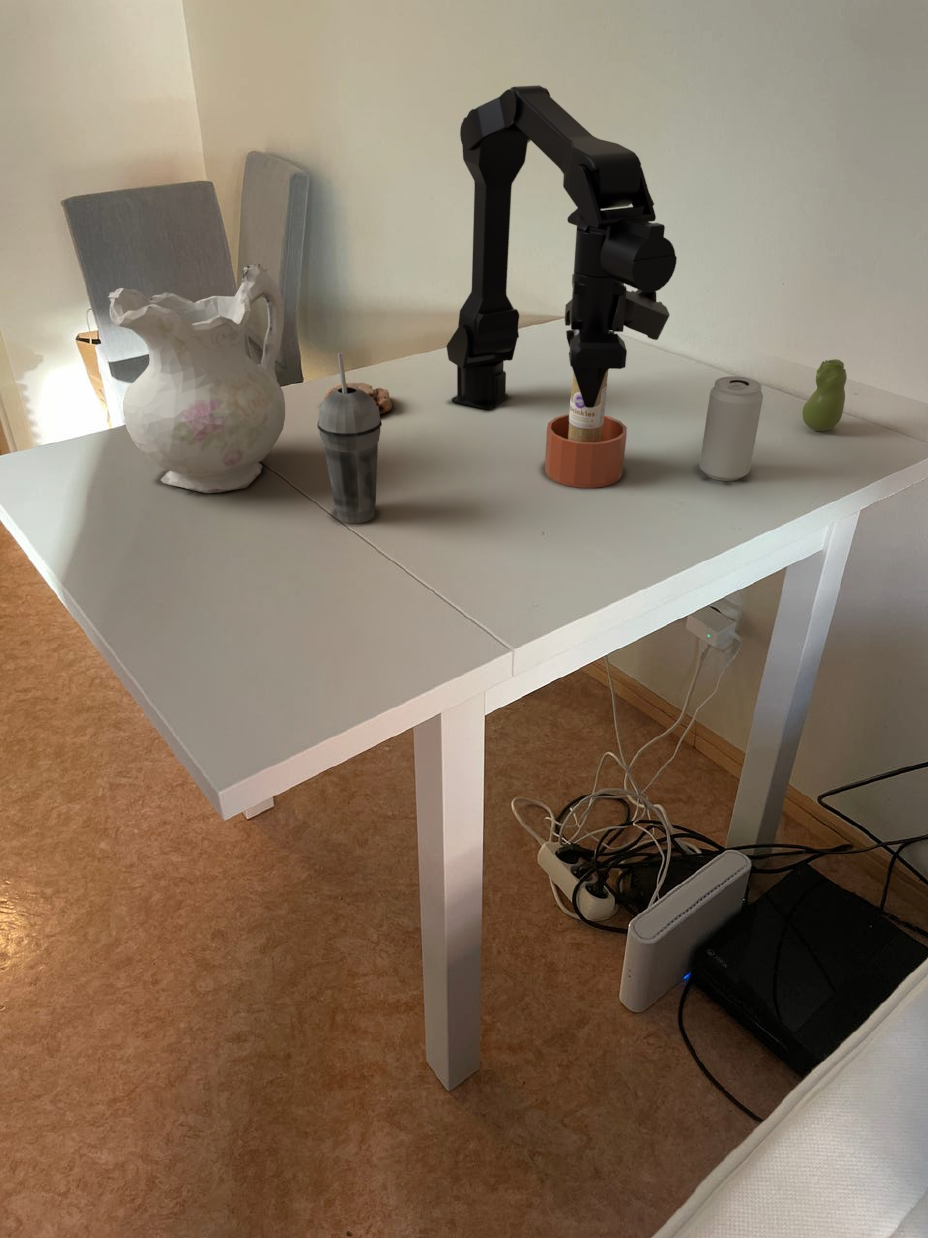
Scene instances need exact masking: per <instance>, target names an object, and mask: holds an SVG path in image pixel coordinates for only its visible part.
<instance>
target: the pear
mask: <svg viewBox="0 0 928 1238" xmlns="http://www.w3.org/2000/svg"><path fill="white" fill-rule="evenodd" d="M847 379H848V377H847V371H846V368H845V363H844V362H843V361H842V360H840V359H835V358H834V359H829V360H828V359H826V360H823V361H822V362H821V363H820V365H819V367H818V368H817V370H816V374H815V384H816V390H814V391H813V392H812V394H811V395H810V397H809V398H808V399H807V401H806V402H805V403H804V404H803V407H802V412H801V414H802V420H803V422H804V424H805V425H806V426H807V427H808V428H810V429H811V430H813V431H817V432H826V431H830V430H832V429H834V428H835V427H836V426H837V425H838V424H839V423H840V421H841V420H842V417H843V413H844V408H845V403H846V391H845V386H846V383H847Z"/></svg>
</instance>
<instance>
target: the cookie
mask: <svg viewBox="0 0 928 1238" xmlns="http://www.w3.org/2000/svg"><path fill="white" fill-rule="evenodd" d="M346 387H354V388H358V389H360V390H362V391H364V392H366V393H367V394H368V395H369V396H370V397H371V398H372V399H373V400H374V402H375V403H376V405H377V408H378V411H379V415H382V414H387V412H390V411H391V410H392V408H393V403H392V399H391V397H390V392H389V390H388V389H384V388H382V387H376V388H375V389H374V388H373V386H372V385H371V384H368V383H364V382H346ZM339 388H342V384H339V385H337V386H334V387H333V388H330V389H329V390H328V391H326V393H325V395H324V398H323V401H324V400H325V398H326V397H327V396H328V395H329V394H330V393H331V392H333V391H335V390H336V389H339Z"/></svg>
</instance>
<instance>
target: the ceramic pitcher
mask: <svg viewBox="0 0 928 1238" xmlns="http://www.w3.org/2000/svg"><path fill="white" fill-rule="evenodd" d="M268 270H269V268H264V266H263V265H261V263H258V264H255V263H254V264H249V265H247V266H244V267H243V269H242V271H240V273H241V274H242V277H241V284H240V286H239V288H238V290H237V292H235V295H233V296H232V295H231V296H226V295H225V296H223V295H211V296H209V297H206V298H203V299H200V300H197V301H195V302H193V301H192V300H189V299H187V298H185V297H182V296H180V295H178V294H175V293H174V292H169V291H168V292H167V291H165V292H163V293H161V294H154V295H153V296H151V297H149V298H147V297H146V296H145V295H144V293H142V292H141V291H140V290H137V289H131V287H129V288H128V287H127V288H124V287H119V288H117V289H116V290H114V291H112V292H109V295H108V298H109V301H110V304H109V317H110V321H111V322H112V323H113V324H114V325H115V326H117V327H121V328H125V329H129V330H132V332H134V333H135V334H136V335H137V336H139V337H140V338H141V339H142V340H143V342H144V343H145V344H146V347H147V351H148V355H149V356H148V357H149V362H148V366H147V367H146V368H145V370H144V371H143V372H142V373H141V374H140V375H139V376H138V378H136V379H135V380H134V381H133V382H132V383H131V384H129V386H127V388H126V390H125V393H124V396H123V400H122V414H123V416H124V422H125V427H126V430H127V431H128V434H129V436H130V438H131V440H132V441H133V443H134V444H135V446H136V447H137V448H138V450H140V451H141V452H142V453H143V455H144V456H146V457H147V458H148V459H149V460H150V461H151V462H152V463H153V464H155V465H157V466H159V467H160V468H161V469H164V470H168V471H167V472H166V473H165V474H164V475H163V476H162V477H161V478H160V482H162V484H165V485H168V486H174V487H178V488H182V489H183V488H184V489H187V490H191V491H195V492H199V493H203V494H213V493H214V494H215V493H224V492H227V491H228V492H229V491H233V490H234V491H235V490H239V489H240V490H241V489H247V488H248V486H249V485H250V484H252V483H253V481H254V480H256V479H257V477H258V476H259V475H260V474H261V473H262V468H263V465H262V464H261V461H263V460H264V459H265V458H266V456H267V455H268V454H269V453H270V451H272V449H273V448H274V446H275V445H276V443H277V441H278V440H279V437H280V436H281V435H282V432H283V430H284V426H285V421H286V401H285V394H284V391H283V388H282V387H281V385H280V383H279V382H278V378H277V375H276V370H275V366H276V365H275V362H276V359H277V357H278V355H279V352H280V349H281V348H282V340H283V332H284V326H285V305H284V300H283V299H284V298H283V295H282V293H281V291H280V288H279V285H278V284H277V283H276V282H275V281H274V279H272V277H271V276H270V275H269V273H268V272H267V271H268ZM261 298H263V300H264V302H265V305H266V310H267V318H268V324H267V330H266V333H265V337H264V340H263V350H262V357H261V361H260V363H259V364H256V363H255V362H254V361H253V360H252V359H251V358H250V357H249V355H248V354H247V351H246V346H245V338H246V331H247V328H248V323H249V321H250V318H251V313H252V312H251V306H252V305H253V304H255V302H256V301H257V300H259V299H261Z"/></svg>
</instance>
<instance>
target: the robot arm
mask: <svg viewBox="0 0 928 1238" xmlns="http://www.w3.org/2000/svg"><path fill="white" fill-rule="evenodd" d="M459 130H460V131H459V137H460V142H461V144H462V160H463V163H464V164H465V166H466V168H467V170H468V172H469V173H470V176H471V177H472V179H473V181H474V183H473V184H474V187H473V188H474V192H473V193H474V194H473V224H472V225H473V227H472V265H471V268H472V269H471V290H470V293H469V295H468V296H467V298H466V300H465V301H464V303H463V305H462V306H461V308H460V310H459V315H458V316H459V317H458V324H457V328H456V330H455V332H453V334H452V336H451V337H450V339H449V341H448V342H447V344H446V352H447V353H446V354H447V358H448V361H449V362H451V363H453V364H454V365H456V388H457V389H456V395H455V396H453V397H452V398H451V402H452V403H454V404H458V405H463V406H467V407H471V408H472V407H473V408H477V409H482V410H485V411H486V410H487V411H488V410H491V409H492V408H493V407H496V406H497V405H498V404H500V403H502V401H504V400H506V399H507V398H509V394H508V393H506V392H507V391H506V390H507V389H506V387H507V373H506V371H505V370H504V362H506V361H508V362H509V361H513V358H514V354H515V350H516V346H517V342H518V339H519V337H520V335H519V333H520V332H519V321H520V312H519V310H518V309H517V308H514V306H513V304H512V302H511V301H510V299H509V297H508V295H507V294H508V293H507V286H508V269H509V267H508V266H509V250H510V249H509V247H510V226H511V209H512V207H511V206H512V187H513V183H514V181H515V180H516V178H517V176H518V174H519V173H520V172H521V170H522V168H523V166H524V165H525V163H526V157H527V151H528V150H527V149H528V145H529V144H528V143H530V142H532V143H533V144H534V145H535V146H536V147H537V148H538V149H539V150H540V151H541V152H542V153H543V154H544V155H545V156H546V157H547V158H548V159H549V160H550V161H551V162H552V163H553V164H554V165H556V167H557V168H558V169H560V171H561V173H562V174H563V182H562V187H563V189H564V190H565V192H566V193H567V195H568V196H569V198H570V199H571V201H572V202H573V204H574V205H575V206H576V207H577V208H576V209H575V210H574V211H572V212H571V213H570V214H569V215H568V216H567V223H569V224H571V225H574V226H576V231H575V232H576V233H575V246H574V247H575V249H574V264H573V274H572V276H571V287H572V292H571V293H572V294H571V299H570V300H569V301H568V302H567V303H566V304H565V307H564V325H565V326H567V327H570V329H568V330H566V331H565V334H566V340H567V344H568V347H569V352H568V358H569V366H570V367H571V369H572V371H574V374H575V377H576V380H577V384H578V386H579V390H580V393H581V396H582V399H583V402H584V405H585V407H587V408H593V407H594V406H595V403H596V400H597V397H598V394H599V391H600V388H601V385H602V382H603V379H604V377H605V374H606V372H607V370H608V371H609V370H611V369H612V370H613V369H614V370H621V369H625V368H626V366H627V365H626V364H627V355H628V349H627V346H626V343H625V341H624V340H623V339H622V338H621V336H620V335H619V334H618V333H623V332H624V328H625V327H626V328H628V329H630V330H633V331H635V332H638V333H641V334H643V335H646V336H647V338H648V339H650V340H654V341H657V340H659V338H660V336H661V334H662V332H663V330H664V328H665V326H666V325H667V322H668V320H669V318H670V312H669V310H668V308H667V306H666V305H664V304H663V302H662V301H657V291H660V290H661V289H662V288H664V287H665V286H666V285H667V284H668V283H669V282H670V280H671V279H672V277H673V275H674V272H675V270H676V266H677V256H676V250H675V248H674V245H673V243H672V242H671V241H670V240H669V239H668V238H667V237H665V229H666V226H665V225H664V224H663V223H659V222H655V221H656V219H657V216H656V212H655V209H654V205H655V202H654V200H653V198H652V196H651V194H650V191H649V188H648V184H647V180H646V177H645V173H644V169H643V168H642V162H641V160H640V158H639V156H638V155H637V154H636V152H635V151H633V150H631V149H629V148H627V147H625V146H624V145H621V144H620V143H617V142H614V141H609V140H604V139H600V138H598V137H597V136H594V135H592V134H591V132H589V131H588V130H587V129H586V128H585V127H584V126H583V125H582V124H581V123H580V122H578V121H577V119H575V118H574V117H573V116H572V115H571V114H570V113H569V112H568V111H567V110H565V108H563V107H562V106H561V105H560V104H559V103H558V102H557V101H556V100H554V98H553V97H551V94H550V92H549V90H548V88H546V87H543V86H541V85H539V84H538V85H520V86H519V85H517V86H511V87H510V88H509V89H506V90H505V91H504V92H503V93H502V94H500V96H497V97H496V98H493V99H492V100H490V101H488V102H485V103H483V104H481V105H479V106H477V107H476V108H472V109H471V110H469V111H468V113H467V115H466V116H465V117H463V119H462V122H461V125H460V129H459ZM630 205H632V206H630ZM626 285H627V286H629V287H630V288H631V287H632V288H634V289H637V290H631V291H630V290H628V288H627V286H626Z"/></svg>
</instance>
